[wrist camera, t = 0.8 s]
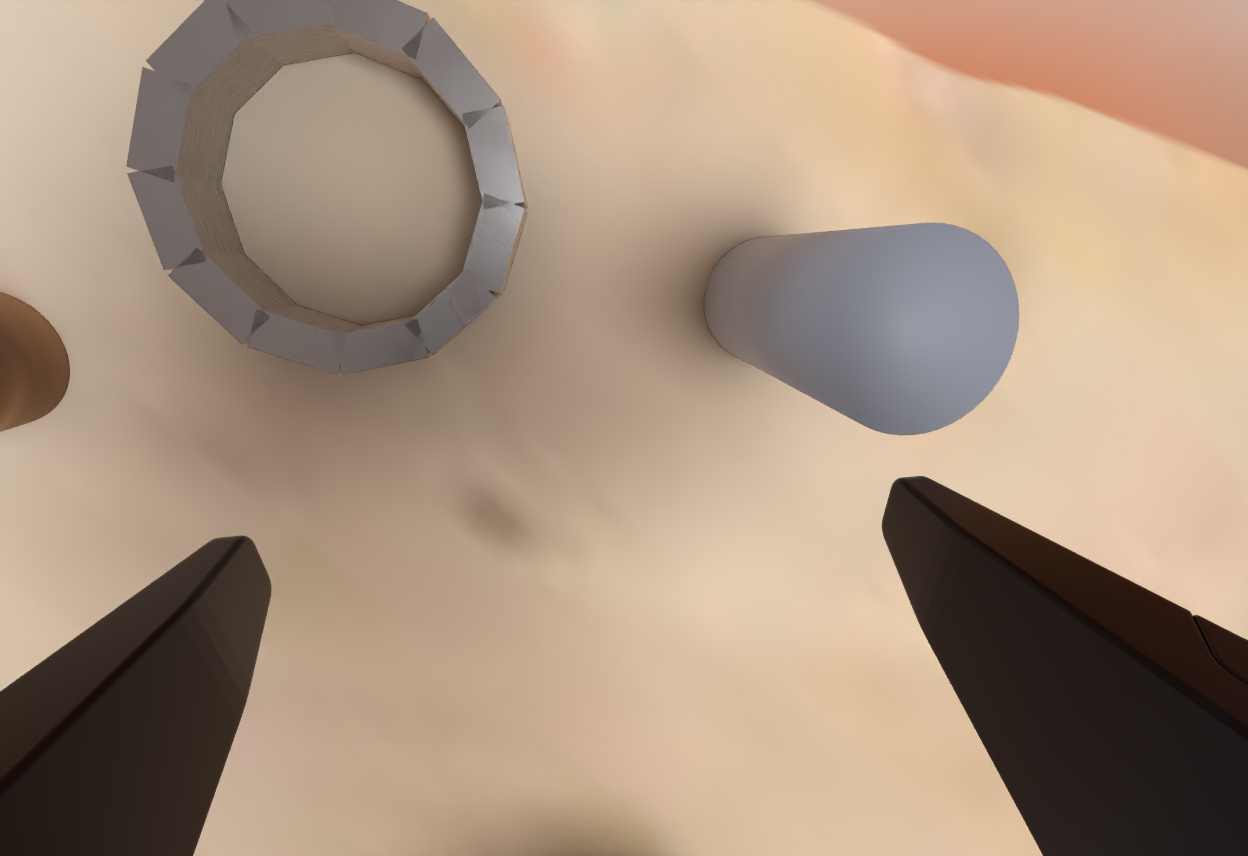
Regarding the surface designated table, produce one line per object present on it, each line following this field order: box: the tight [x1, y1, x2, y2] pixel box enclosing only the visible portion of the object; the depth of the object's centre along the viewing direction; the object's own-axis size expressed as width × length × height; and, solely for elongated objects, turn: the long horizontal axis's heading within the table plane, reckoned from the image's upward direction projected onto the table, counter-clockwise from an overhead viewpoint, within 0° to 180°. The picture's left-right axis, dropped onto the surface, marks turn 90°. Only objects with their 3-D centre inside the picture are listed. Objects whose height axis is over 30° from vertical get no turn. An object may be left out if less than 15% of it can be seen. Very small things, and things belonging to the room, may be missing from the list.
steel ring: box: [127, 0, 527, 375], centre depth 19 cm, size 10×10×2 cm
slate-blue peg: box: [704, 223, 1019, 435], centre depth 18 cm, size 4×4×10 cm
